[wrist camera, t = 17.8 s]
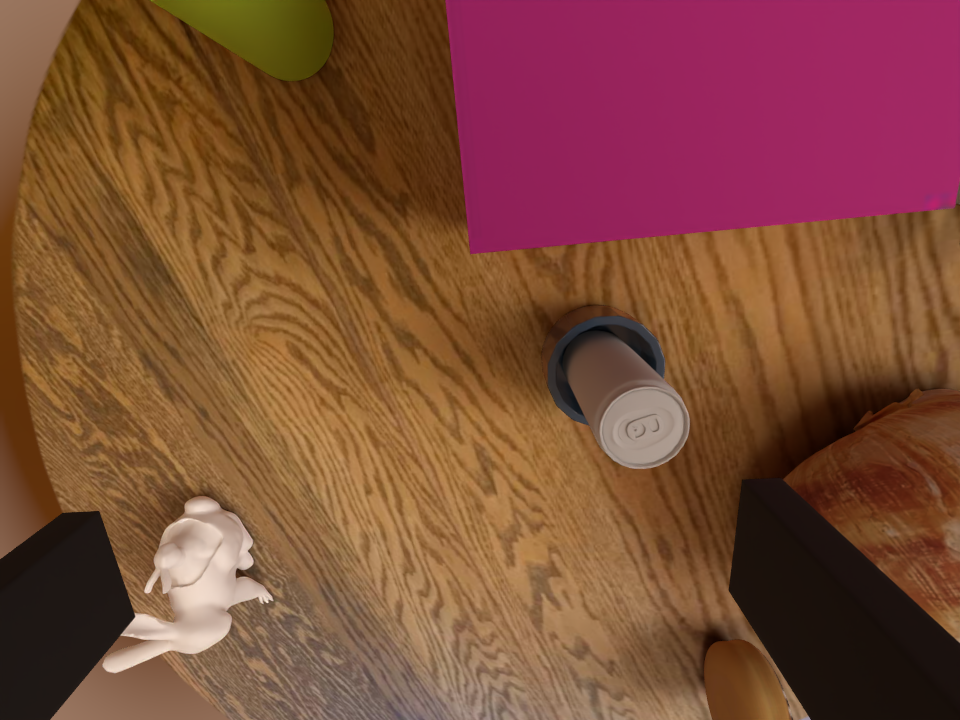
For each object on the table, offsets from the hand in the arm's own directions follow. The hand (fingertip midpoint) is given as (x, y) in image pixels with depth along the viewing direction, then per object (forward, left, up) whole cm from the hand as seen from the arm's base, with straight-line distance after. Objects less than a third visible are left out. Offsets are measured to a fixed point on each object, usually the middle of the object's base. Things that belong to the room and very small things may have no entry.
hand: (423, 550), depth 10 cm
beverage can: (-4, +9, -26) cm, 28 cm away
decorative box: (-18, -4, -27) cm, 32 cm away
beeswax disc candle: (+8, +38, -27) cm, 48 cm away
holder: (-4, +9, -27) cm, 28 cm away
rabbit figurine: (+30, -2, -27) cm, 40 cm away
